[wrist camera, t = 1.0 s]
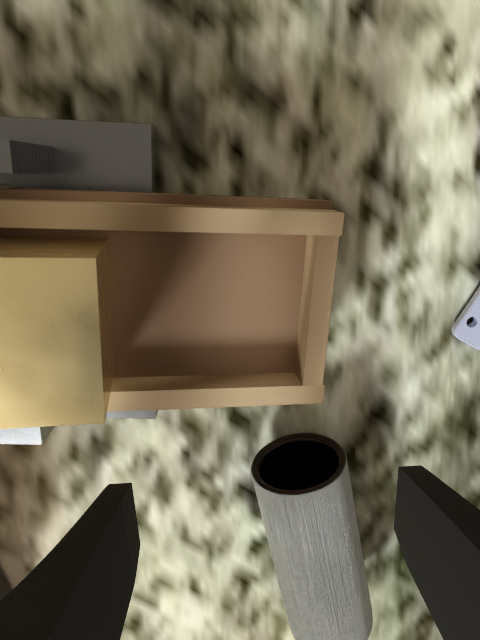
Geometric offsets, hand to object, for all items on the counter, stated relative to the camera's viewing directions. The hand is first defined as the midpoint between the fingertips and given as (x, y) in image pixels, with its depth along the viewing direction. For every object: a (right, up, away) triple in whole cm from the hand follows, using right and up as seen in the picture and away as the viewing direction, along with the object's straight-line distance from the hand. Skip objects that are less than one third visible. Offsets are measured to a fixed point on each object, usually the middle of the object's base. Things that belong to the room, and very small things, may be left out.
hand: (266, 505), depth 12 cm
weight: (-8, +6, +4) cm, 10 cm away
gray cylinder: (+4, -11, +12) cm, 17 cm away
